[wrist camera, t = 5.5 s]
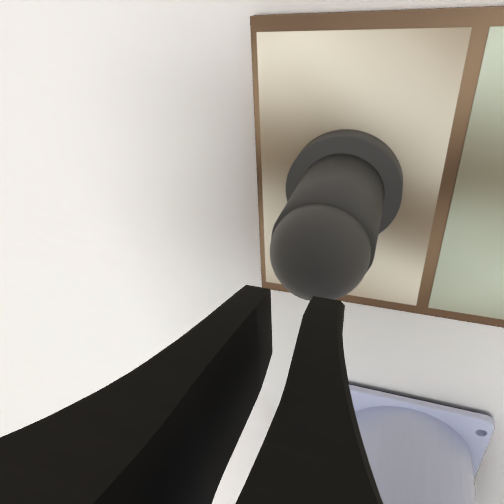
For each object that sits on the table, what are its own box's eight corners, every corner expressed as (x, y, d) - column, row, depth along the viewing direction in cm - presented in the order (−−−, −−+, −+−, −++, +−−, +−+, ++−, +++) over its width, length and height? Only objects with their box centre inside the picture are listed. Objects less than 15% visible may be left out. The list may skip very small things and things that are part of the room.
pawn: (395, 237, 18) (382, 354, 12) (291, 225, 19) (238, 325, 13) (411, 131, 15) (404, 216, 10) (291, 126, 16) (227, 198, 11)
